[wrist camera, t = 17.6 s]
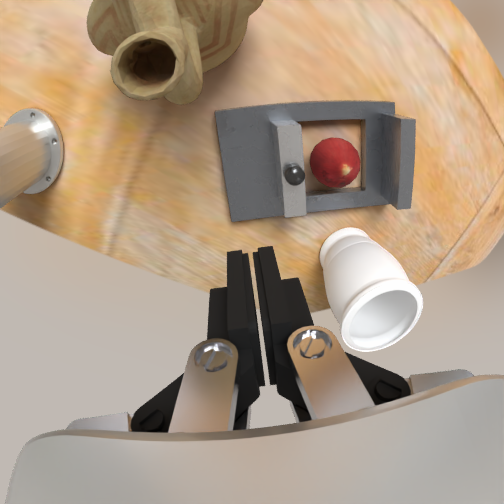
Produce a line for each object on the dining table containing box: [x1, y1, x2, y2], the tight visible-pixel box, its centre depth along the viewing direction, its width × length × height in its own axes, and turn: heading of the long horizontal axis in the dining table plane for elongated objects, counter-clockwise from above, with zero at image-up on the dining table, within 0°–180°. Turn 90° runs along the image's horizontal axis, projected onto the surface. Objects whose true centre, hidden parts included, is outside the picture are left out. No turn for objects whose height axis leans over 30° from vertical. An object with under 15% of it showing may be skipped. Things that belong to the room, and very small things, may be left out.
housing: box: [215, 101, 416, 222], centre depth 33 cm, size 22×14×6 cm, turn 97°
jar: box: [320, 227, 423, 351], centre depth 37 cm, size 11×10×15 cm
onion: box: [310, 138, 360, 188], centre depth 33 cm, size 6×6×8 cm
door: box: [271, 120, 306, 218], centre depth 32 cm, size 2×10×6 cm, turn 6°
